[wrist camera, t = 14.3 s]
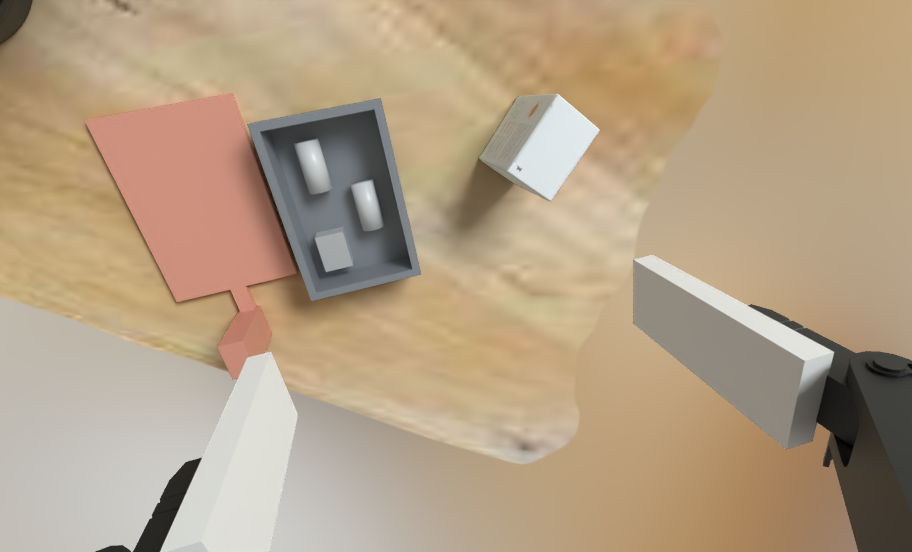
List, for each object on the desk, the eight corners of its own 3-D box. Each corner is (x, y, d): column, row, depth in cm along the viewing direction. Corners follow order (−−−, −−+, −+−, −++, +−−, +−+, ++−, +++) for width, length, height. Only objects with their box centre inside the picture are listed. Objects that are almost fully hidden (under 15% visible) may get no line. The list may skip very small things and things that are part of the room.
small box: (514, 184, 50) (550, 204, 40) (476, 158, 47) (505, 172, 38) (555, 124, 48) (603, 130, 38) (517, 94, 46) (558, 92, 36)
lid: (89, 119, 39) (26, 123, 32) (233, 93, 40) (204, 91, 33) (205, 351, 50) (178, 393, 42) (316, 323, 51) (308, 360, 44)
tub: (259, 121, 42) (247, 124, 37) (378, 98, 43) (380, 98, 39) (315, 282, 49) (311, 301, 45) (416, 258, 51) (421, 274, 46)
